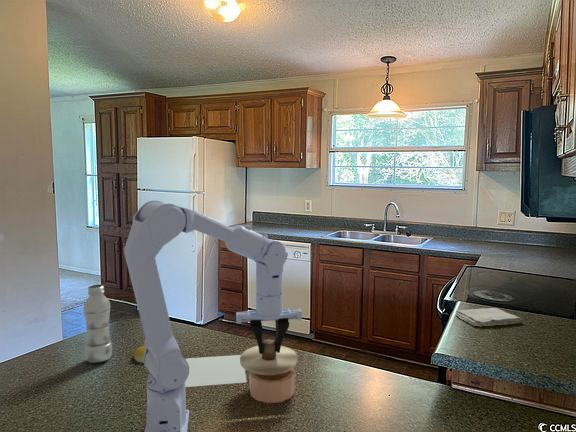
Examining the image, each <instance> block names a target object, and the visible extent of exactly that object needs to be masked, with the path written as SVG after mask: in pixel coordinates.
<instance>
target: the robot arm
mask: <svg viewBox="0 0 576 432" xmlns="http://www.w3.org/2000/svg"><path fill="white" fill-rule="evenodd" d="M192 231H196V232H199V233H201V234H205V235H207V236H210V237H212V238H215V239H217V240H220V241H223V242H224V243H225V246H226V248H227V250H228V251H230V252H232V253H234V254H237V255H239V256H242V257H245V258H247V259H250V260H252V261H254V262H255V269H256V270H255V272H256V274H255V280H256V281H255V284H256V285H255V288H256V289H255V293H256V294H255V295H256V296H255V302H256V303H255V305H256V306H255V307H256V309H251V310H245V311H244V310H243V311H237V312H235V315H236V316H235V318H236V325H237V324H238V325H240V324H242V323H249V324H250V328H251V330H252V332H253V335H254V337H255V338H256V342H257V346H258V348H259V354H263V346H262V341H263V329H264V328H263V323H262V322H269V321H271V322H272V321H274V322H275V341H276V352H277V353H280V348H281V346H282V343H283V340H284V337H285V335H286V333H287V331H288V329H289V327H290V322H289V320H297V321H302V320H303V313H302V312H303V311H302V309H301V308H283V272H284V264H285V263H286V261H287V260H288V259H287V258H288V254H289V253H288V252H287V251H286V248H285V246H284V244H283V243H282V242H281V241H278V240H273V239H270V238H269V235H268V234H266V233H262V234H261V233H258V232H256V231H255V230H252V226H250V225H248V224H236V225H235V226H233V227H230V226H229V225H226V224H224V223H223V222H222V223H221V222H220V221H218V220H216V219H214V218H212V217H209V216H207V215H205V214H204V213H202V212H199V211H197V210H194V209H191V208H185V207H182V206H178V205H177V204H174V203H165V202H163V201H160V200H150V201H147V202H144V203H143V205H142V206H141V207H140V208H139V209H138V210H137V211H136V212H135V214H133V216H132V225H131V228H130V231H129V234H128V236H127V239H126V243H125V246H124V248H123V251H124V252H123V254H124V257H125V261H126V265H127V266H126V267H127V268H128V273H129V278H130V283H131V285H132V288H133V289H132V290H133V292H134V293H133V294H134V297H135V302H136V304H137V309H138V314H139V317H140V322H141V325H142V328H143V329H142V330H143V334H144V337H145V339H144V341H143V346H144V345H145V353H144V358H143V362H144V363H143V364H144V367H145V368H146V370H148V372H149V374H148V377H147V380H146V395H147V396H146V399H147V400H146V401H147V402H146V403H147V405H146V406H147V407H146V423H145V424H146V425H145V428H144V430H143V432H188V427H189V418H190V410H189V409H187V400H186V399H187V398H186V397H187V396H186V395H187V394H186V387H185V381H186V379H187V378H188V375H189V365H188V362H187V361H186V358H184V357H183V355H182V353H181V349H180V347H179V345H178V342H177V340H176V338H175V336H174V334H173V329H172V325H171V321H170V316H169V311H168V308H167V303H166V300H165V295H164V290H163V287H162V286H163V285H162V283H161V279H160V273H159V270H158V265H157V260H156V257H157V255H158V254H159V252H161V250H162V249H163V248H164V246H166V245H167V244H169V242H171V241H173V240H174V239H175V238H177V237H178V236H179V235H180V234H181V233H182V232H183V233H185V234H187V233H188V234H189V233H191V232H192Z"/></svg>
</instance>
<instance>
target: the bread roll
mask: <svg viewBox="0 0 576 432" xmlns="http://www.w3.org/2000/svg"><path fill="white" fill-rule="evenodd" d="M144 353H145V345H144V344H143V345H142V346H140V347H138V348H137V349H135V351H134V353H133V359H134V361H136V362H138V363H142V364H144V362H143V358H144Z"/></svg>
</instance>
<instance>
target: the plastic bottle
mask: <svg viewBox="0 0 576 432" xmlns="http://www.w3.org/2000/svg"><path fill="white" fill-rule="evenodd" d="M87 287H88V288H87V290H88V292H87V295H88V298H87V299H86V300H85V303H84V304H83V315H84V319H85V327H86V343H85V349H84V356H85V359H86V360H87V362H88V363H91V364H98V363H103V362H105V361H107V360H109V359H110V358H111V356H112V354H113V344H112V341H111V336H110V334H111V333H110V315H111V314H110V312H111V307H112V306H111V302H110V300H109V299H108V298H107V296H105V286H104V284H99V283H97V284H93V285H92V284H91V285H89V286H87Z"/></svg>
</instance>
